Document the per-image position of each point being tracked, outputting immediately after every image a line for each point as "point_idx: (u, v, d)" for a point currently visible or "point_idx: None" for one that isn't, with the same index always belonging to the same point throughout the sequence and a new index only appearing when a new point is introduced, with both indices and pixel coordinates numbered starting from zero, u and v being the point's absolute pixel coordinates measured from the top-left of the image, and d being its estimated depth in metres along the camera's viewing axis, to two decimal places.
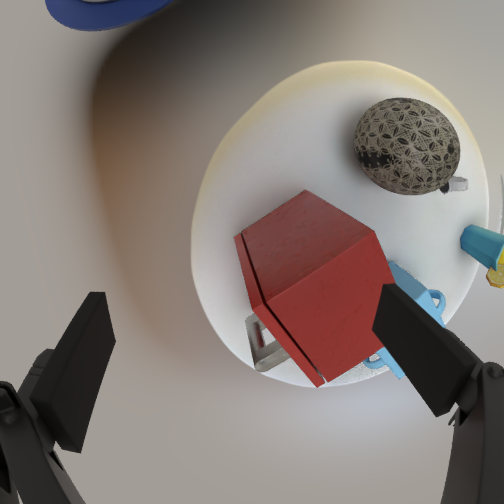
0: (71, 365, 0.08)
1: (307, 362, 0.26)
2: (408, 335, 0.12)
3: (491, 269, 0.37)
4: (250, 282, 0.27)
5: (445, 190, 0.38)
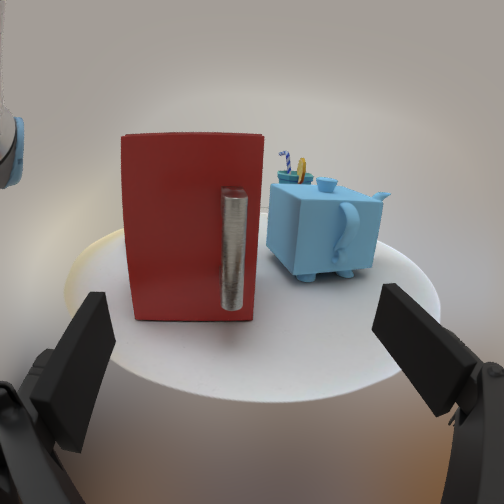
0: (71, 365, 0.08)
1: None
2: (408, 335, 0.12)
3: (298, 180, 0.58)
4: None
5: None
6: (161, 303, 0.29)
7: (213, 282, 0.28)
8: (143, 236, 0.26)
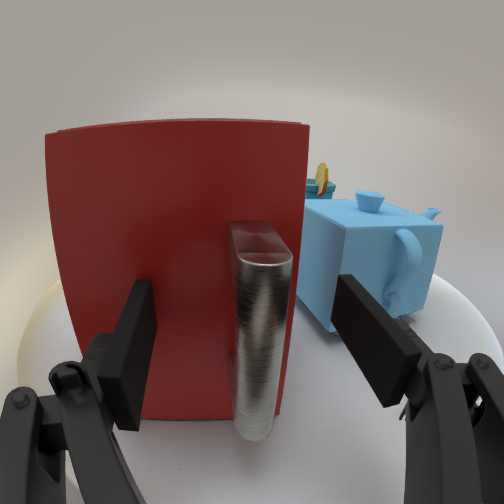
0: (132, 345, 0.09)
1: None
2: (358, 324, 0.12)
3: (318, 191, 0.46)
4: None
5: None
6: None
7: (219, 374, 0.16)
8: (96, 308, 0.14)
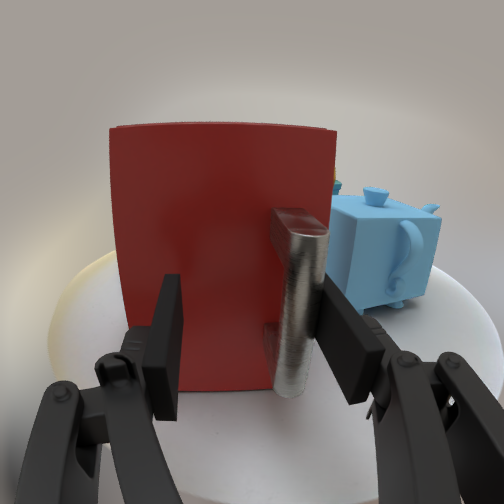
0: (171, 336, 0.10)
1: None
2: (327, 320, 0.13)
3: None
4: None
5: None
6: None
7: (254, 345, 0.19)
8: (149, 284, 0.17)
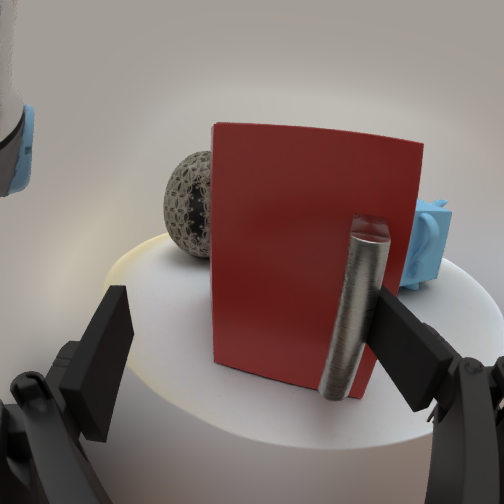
0: (98, 355, 0.09)
1: None
2: (387, 330, 0.12)
3: None
4: None
5: None
6: (249, 353, 0.22)
7: (322, 344, 0.19)
8: (236, 265, 0.20)
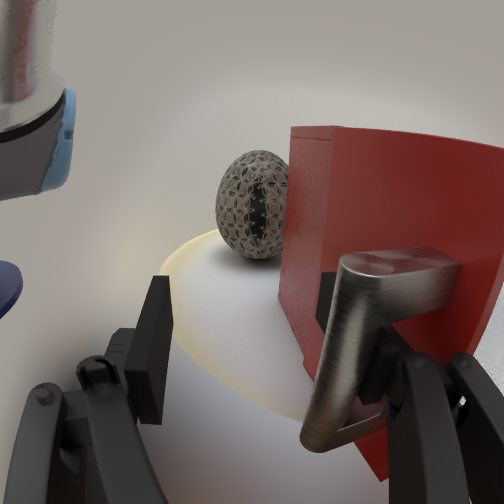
0: (156, 339, 0.10)
1: None
2: None
3: None
4: None
5: None
6: None
7: None
8: None
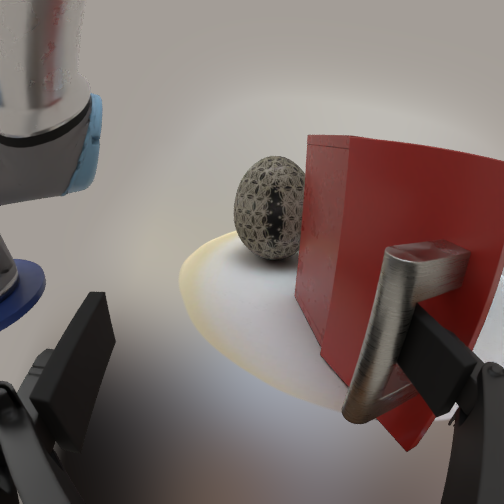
0: (71, 365, 0.08)
1: None
2: (408, 335, 0.12)
3: None
4: None
5: None
6: (343, 356, 0.22)
7: None
8: (351, 269, 0.20)
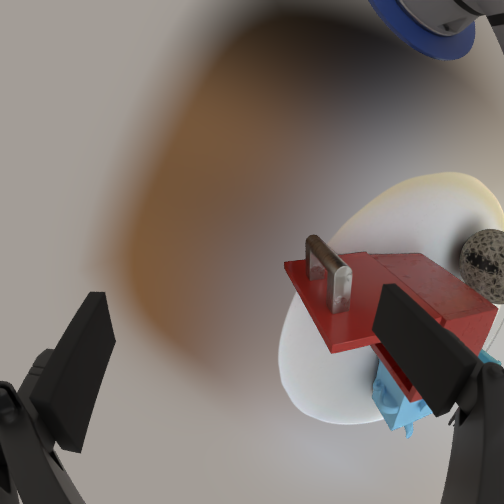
0: (71, 365, 0.08)
1: (372, 343, 0.24)
2: (408, 335, 0.12)
3: None
4: None
5: None
6: (353, 259, 0.39)
7: None
8: (386, 280, 0.33)
